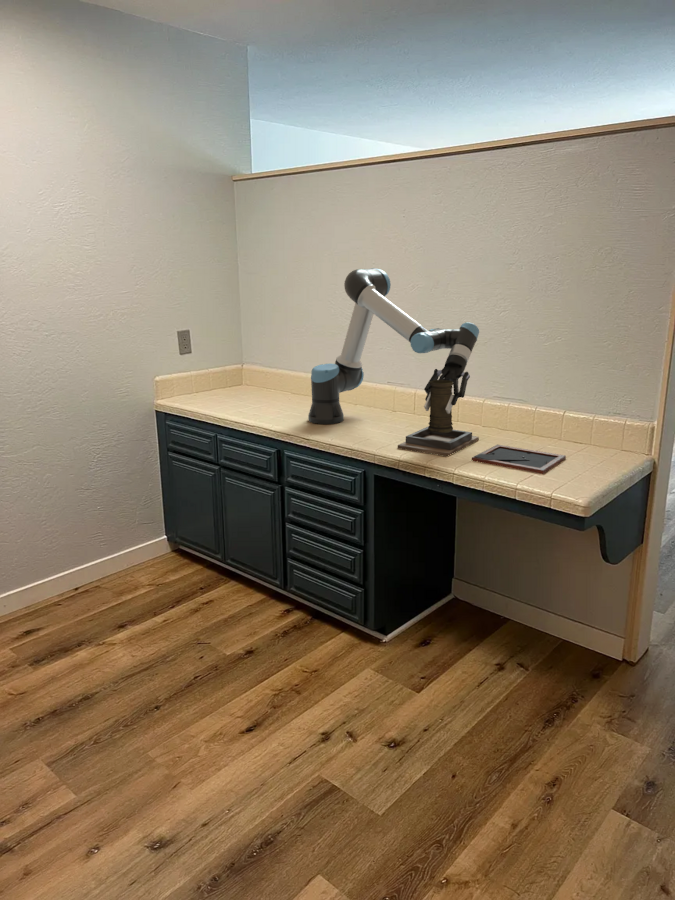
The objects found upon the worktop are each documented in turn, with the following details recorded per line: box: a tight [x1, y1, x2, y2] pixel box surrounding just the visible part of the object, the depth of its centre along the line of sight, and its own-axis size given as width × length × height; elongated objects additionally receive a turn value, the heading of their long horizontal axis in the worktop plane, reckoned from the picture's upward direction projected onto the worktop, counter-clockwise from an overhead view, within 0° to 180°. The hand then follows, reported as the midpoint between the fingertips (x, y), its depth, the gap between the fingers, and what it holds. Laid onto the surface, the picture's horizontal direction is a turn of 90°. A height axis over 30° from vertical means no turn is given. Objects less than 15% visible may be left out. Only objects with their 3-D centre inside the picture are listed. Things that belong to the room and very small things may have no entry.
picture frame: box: [471, 444, 567, 474], centre depth 229 cm, size 20×2×25 cm
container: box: [427, 380, 454, 433], centre depth 245 cm, size 9×9×18 cm
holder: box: [397, 425, 480, 457], centre depth 249 cm, size 26×20×4 cm
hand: (436, 410), depth 243 cm, fingers closed on container, 8 cm apart
